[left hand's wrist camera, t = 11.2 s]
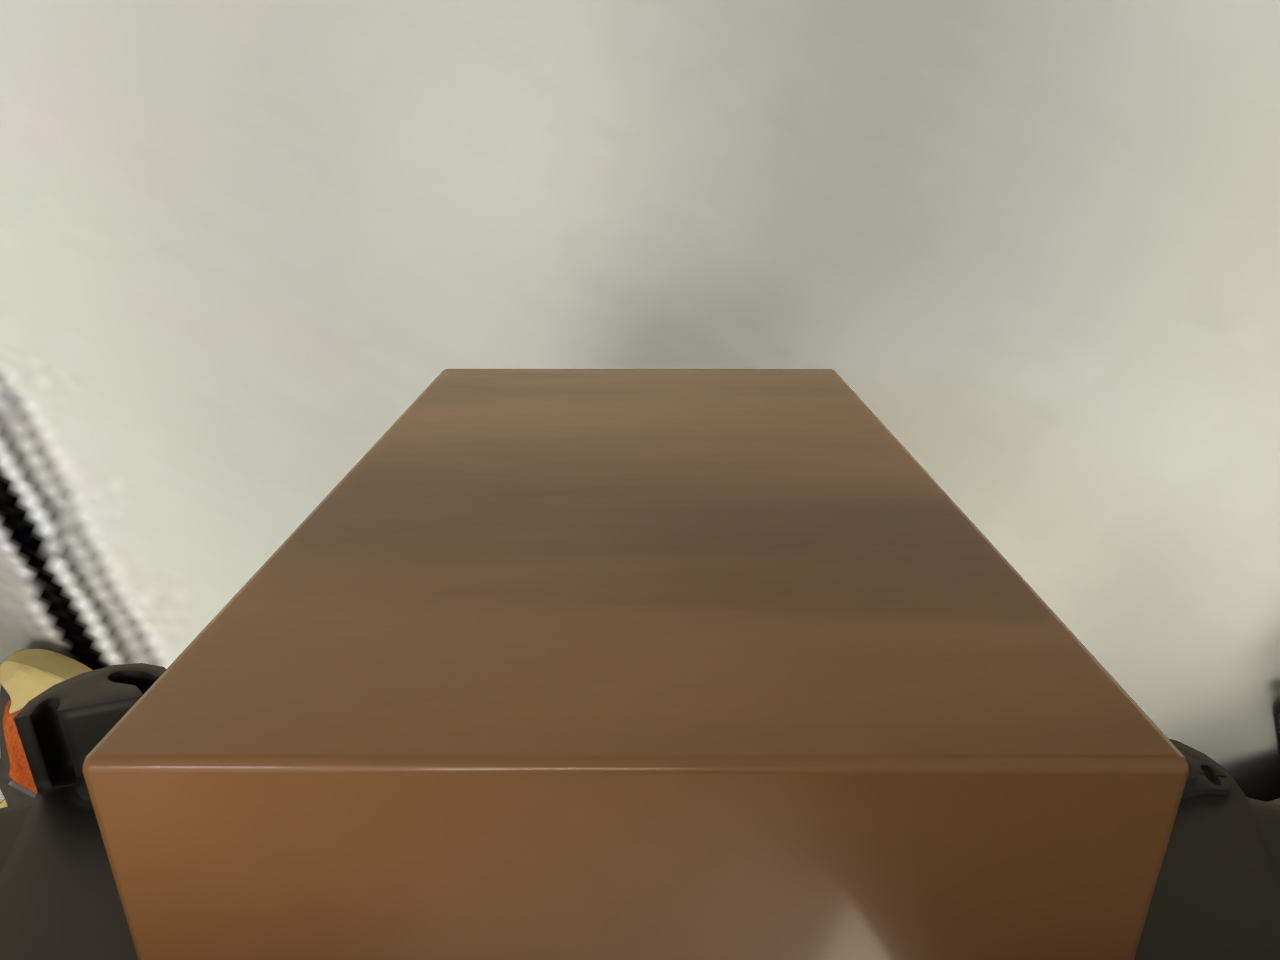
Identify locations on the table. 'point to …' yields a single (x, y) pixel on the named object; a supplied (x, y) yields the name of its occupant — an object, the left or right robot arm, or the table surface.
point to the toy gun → (20, 684)
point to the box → (636, 705)
